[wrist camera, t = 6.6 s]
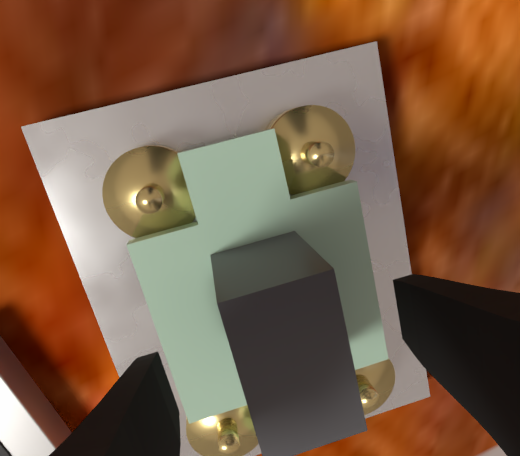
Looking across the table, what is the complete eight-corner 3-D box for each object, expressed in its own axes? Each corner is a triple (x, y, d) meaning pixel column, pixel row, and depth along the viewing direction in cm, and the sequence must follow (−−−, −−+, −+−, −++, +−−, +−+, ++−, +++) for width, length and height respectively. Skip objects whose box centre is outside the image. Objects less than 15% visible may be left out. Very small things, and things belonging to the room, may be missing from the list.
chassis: (365, 46, 16) (415, 21, 12) (418, 383, 20) (467, 438, 16) (32, 127, 14) (-21, 125, 11) (164, 468, 19) (157, 547, 15)
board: (337, 111, 14) (407, 101, 9) (390, 399, 17) (461, 495, 12) (105, 171, 13) (58, 191, 8) (206, 461, 16) (211, 586, 12)
